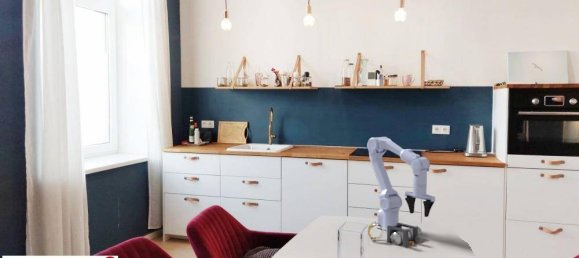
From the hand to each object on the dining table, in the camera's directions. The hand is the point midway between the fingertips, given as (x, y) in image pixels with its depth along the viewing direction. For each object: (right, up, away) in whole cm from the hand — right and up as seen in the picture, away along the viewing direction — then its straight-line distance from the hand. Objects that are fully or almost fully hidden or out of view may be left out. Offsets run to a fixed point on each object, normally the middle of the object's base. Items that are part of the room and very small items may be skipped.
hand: (419, 214), depth 212 cm
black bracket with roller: (-9, -11, -8) cm, 16 cm away
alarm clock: (-20, -11, -4) cm, 23 cm away
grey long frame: (-7, -10, -5) cm, 13 cm away
